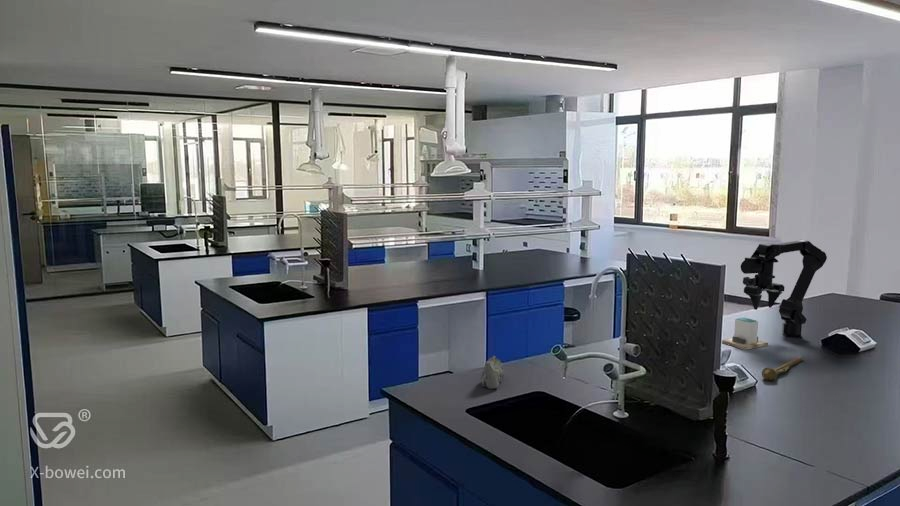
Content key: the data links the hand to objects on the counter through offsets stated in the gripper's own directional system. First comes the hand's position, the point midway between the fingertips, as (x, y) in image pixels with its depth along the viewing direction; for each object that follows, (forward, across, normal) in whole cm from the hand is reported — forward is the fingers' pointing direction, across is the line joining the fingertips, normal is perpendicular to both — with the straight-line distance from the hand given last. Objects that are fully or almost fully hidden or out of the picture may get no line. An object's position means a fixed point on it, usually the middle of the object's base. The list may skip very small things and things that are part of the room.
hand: (762, 308), depth 259 cm
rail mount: (+13, +14, +3) cm, 20 cm away
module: (+12, +14, +3) cm, 19 cm away
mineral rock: (+13, +131, -3) cm, 131 cm away
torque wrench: (+14, +30, +32) cm, 46 cm away
